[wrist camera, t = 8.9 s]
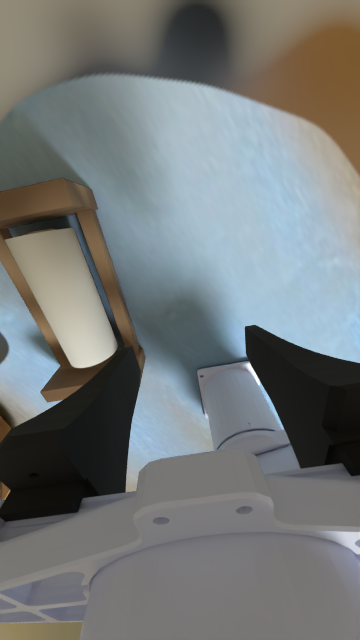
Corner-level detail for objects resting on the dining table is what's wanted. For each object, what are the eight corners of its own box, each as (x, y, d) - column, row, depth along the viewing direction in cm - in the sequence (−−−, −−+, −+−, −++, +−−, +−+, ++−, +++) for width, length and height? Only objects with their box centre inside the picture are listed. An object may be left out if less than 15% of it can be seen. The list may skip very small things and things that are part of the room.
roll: (108, 336, 25) (125, 351, 21) (66, 356, 22) (77, 377, 19) (66, 228, 19) (79, 222, 16) (3, 239, 17) (1, 235, 13)
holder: (145, 357, 25) (139, 387, 20) (69, 370, 25) (47, 402, 21) (91, 189, 17) (62, 178, 13) (-18, 213, 17) (-84, 210, 13)
